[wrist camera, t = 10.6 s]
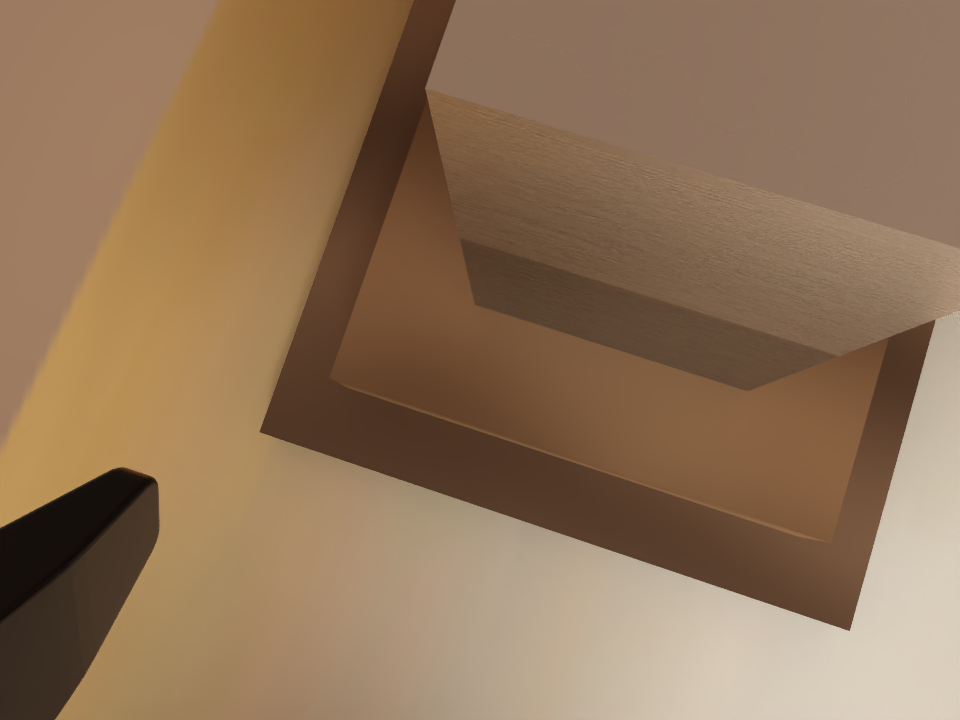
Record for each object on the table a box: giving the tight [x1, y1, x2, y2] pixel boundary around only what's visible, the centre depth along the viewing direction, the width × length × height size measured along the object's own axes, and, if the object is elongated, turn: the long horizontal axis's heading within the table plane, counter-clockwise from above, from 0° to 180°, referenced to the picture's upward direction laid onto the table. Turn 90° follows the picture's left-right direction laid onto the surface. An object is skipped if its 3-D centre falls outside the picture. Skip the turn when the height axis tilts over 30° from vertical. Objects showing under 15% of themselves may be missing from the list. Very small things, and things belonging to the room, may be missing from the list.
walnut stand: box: [260, 0, 936, 631], centre depth 20 cm, size 13×13×3 cm
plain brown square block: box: [425, 0, 960, 391], centre depth 13 cm, size 6×6×10 cm
